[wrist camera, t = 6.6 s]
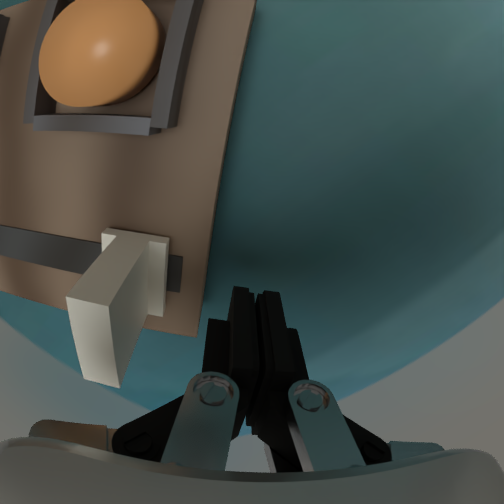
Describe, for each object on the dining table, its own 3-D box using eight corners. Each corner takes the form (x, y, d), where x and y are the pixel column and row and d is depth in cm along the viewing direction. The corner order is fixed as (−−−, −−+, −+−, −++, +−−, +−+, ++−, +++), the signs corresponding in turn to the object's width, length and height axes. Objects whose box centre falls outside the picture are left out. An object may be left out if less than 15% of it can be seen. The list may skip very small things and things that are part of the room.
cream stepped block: (169, 237, 12) (132, 311, 8) (165, 309, 14) (138, 392, 9) (106, 227, 12) (46, 291, 7) (109, 298, 13) (67, 373, 9)
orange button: (176, 1, 8) (166, -15, 6) (153, 109, 10) (137, 108, 8) (76, 8, 7) (54, -2, 6) (56, 106, 9) (30, 108, 8)
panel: (255, 10, 11) (261, -33, 6) (202, 303, 17) (192, 362, 13) (-35, 41, 9) (-81, 40, 4) (-37, 249, 15) (-74, 279, 11)
